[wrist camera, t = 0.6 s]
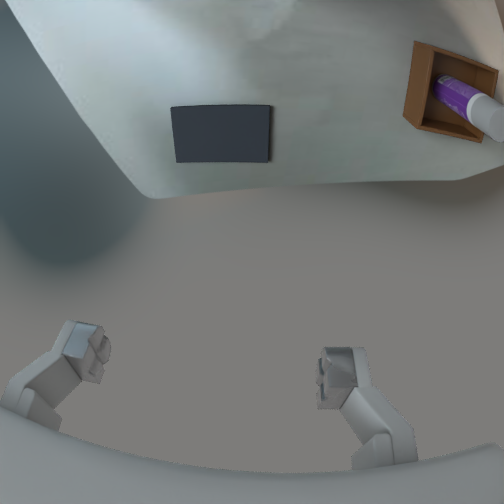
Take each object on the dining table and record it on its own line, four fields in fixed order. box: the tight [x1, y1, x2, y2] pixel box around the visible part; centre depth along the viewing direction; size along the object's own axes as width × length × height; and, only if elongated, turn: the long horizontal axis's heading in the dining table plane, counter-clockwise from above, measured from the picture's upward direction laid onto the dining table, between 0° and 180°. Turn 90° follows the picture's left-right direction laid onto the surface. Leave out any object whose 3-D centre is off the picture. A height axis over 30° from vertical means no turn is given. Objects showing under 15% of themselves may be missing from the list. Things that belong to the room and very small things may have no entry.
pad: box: [171, 105, 270, 163], centre depth 44 cm, size 9×14×1 cm, turn 90°
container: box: [432, 74, 504, 142], centre depth 31 cm, size 5×5×15 cm
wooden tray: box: [403, 41, 499, 143], centre depth 34 cm, size 12×12×5 cm
